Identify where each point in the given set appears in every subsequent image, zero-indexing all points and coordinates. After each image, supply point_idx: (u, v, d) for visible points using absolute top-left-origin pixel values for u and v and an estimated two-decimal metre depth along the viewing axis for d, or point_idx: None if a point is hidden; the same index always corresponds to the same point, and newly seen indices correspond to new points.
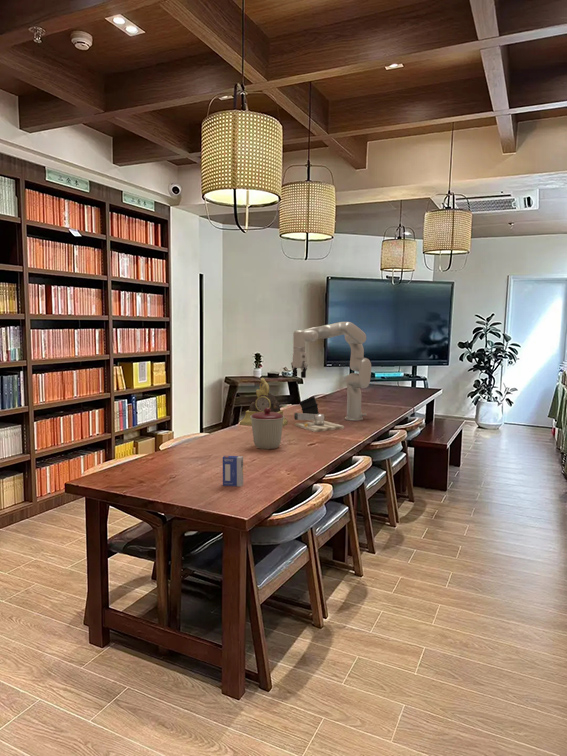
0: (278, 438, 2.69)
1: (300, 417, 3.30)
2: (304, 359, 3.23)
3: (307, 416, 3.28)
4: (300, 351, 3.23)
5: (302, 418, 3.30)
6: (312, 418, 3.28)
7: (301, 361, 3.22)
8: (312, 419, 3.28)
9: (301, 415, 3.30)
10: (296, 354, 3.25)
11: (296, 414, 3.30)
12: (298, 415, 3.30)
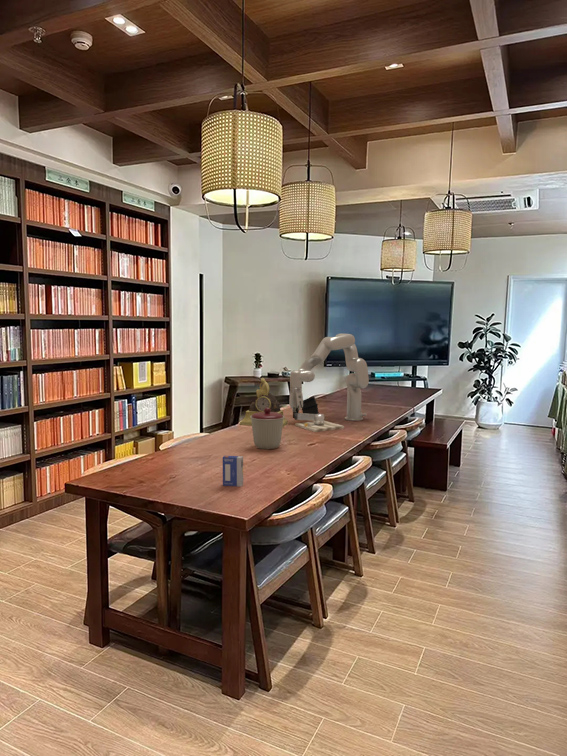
0: (278, 438, 2.69)
1: (300, 417, 3.30)
2: (300, 399, 3.31)
3: (307, 416, 3.28)
4: (296, 391, 3.30)
5: (302, 418, 3.30)
6: (312, 418, 3.28)
7: (297, 401, 3.30)
8: (312, 419, 3.28)
9: (301, 415, 3.30)
10: (293, 394, 3.32)
11: (296, 414, 3.30)
12: (298, 415, 3.30)
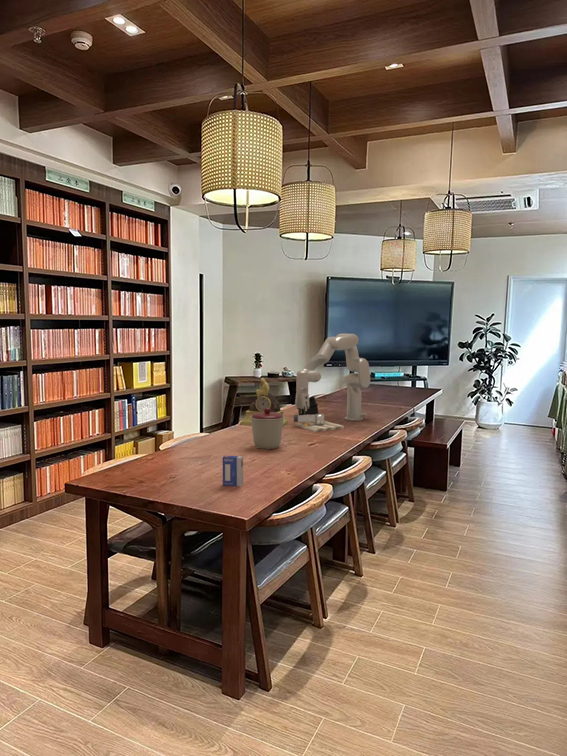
0: (278, 438, 2.69)
1: (301, 419, 3.24)
2: (307, 400, 3.23)
3: (308, 417, 3.25)
4: (303, 392, 3.23)
5: (303, 420, 3.24)
6: (312, 419, 3.25)
7: (304, 402, 3.23)
8: (313, 420, 3.25)
9: (301, 417, 3.24)
10: (299, 395, 3.25)
11: (296, 416, 3.23)
12: (298, 417, 3.24)
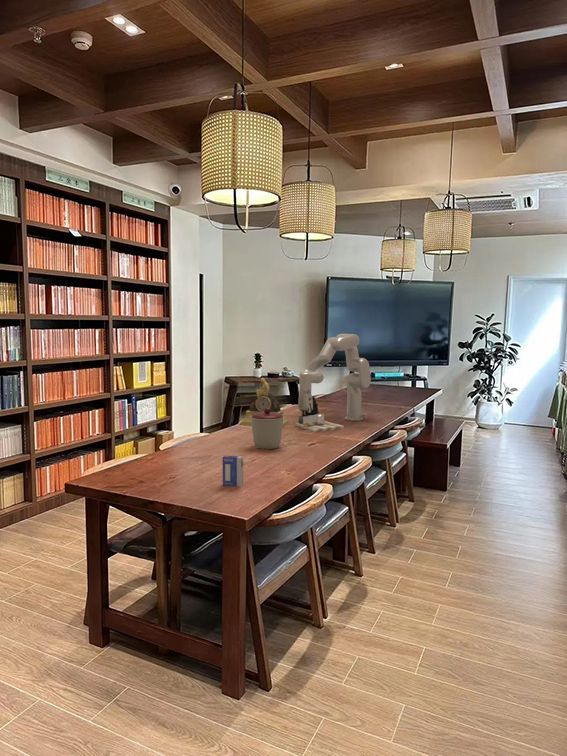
0: (278, 438, 2.69)
1: (305, 421, 3.19)
2: (310, 401, 3.22)
3: (311, 418, 3.22)
4: (306, 393, 3.21)
5: (307, 421, 3.20)
6: (315, 419, 3.24)
7: (307, 403, 3.21)
8: (315, 420, 3.24)
9: (306, 418, 3.19)
10: (302, 396, 3.23)
11: (302, 418, 3.17)
12: (304, 419, 3.18)
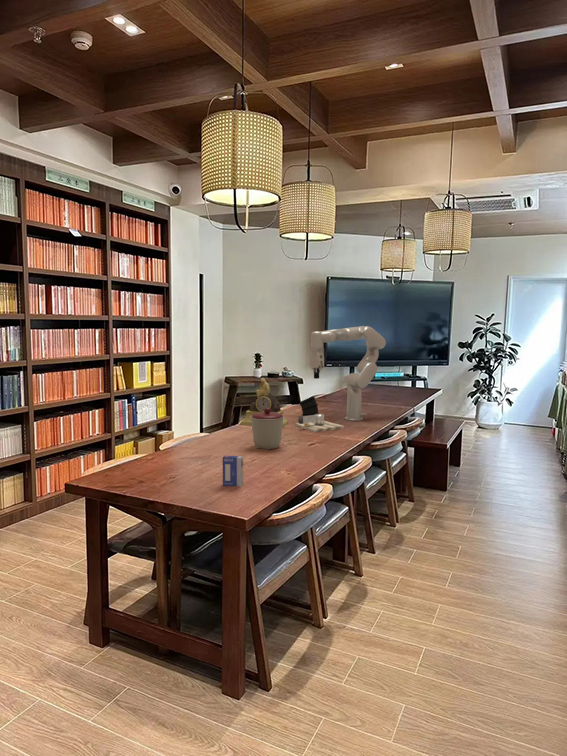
0: (278, 438, 2.69)
1: (305, 421, 3.19)
2: (322, 359, 3.36)
3: (311, 418, 3.22)
4: (318, 351, 3.36)
5: (307, 421, 3.20)
6: (315, 419, 3.24)
7: (319, 361, 3.36)
8: (315, 420, 3.24)
9: (306, 418, 3.19)
10: (314, 354, 3.38)
11: (302, 418, 3.17)
12: (304, 419, 3.18)
